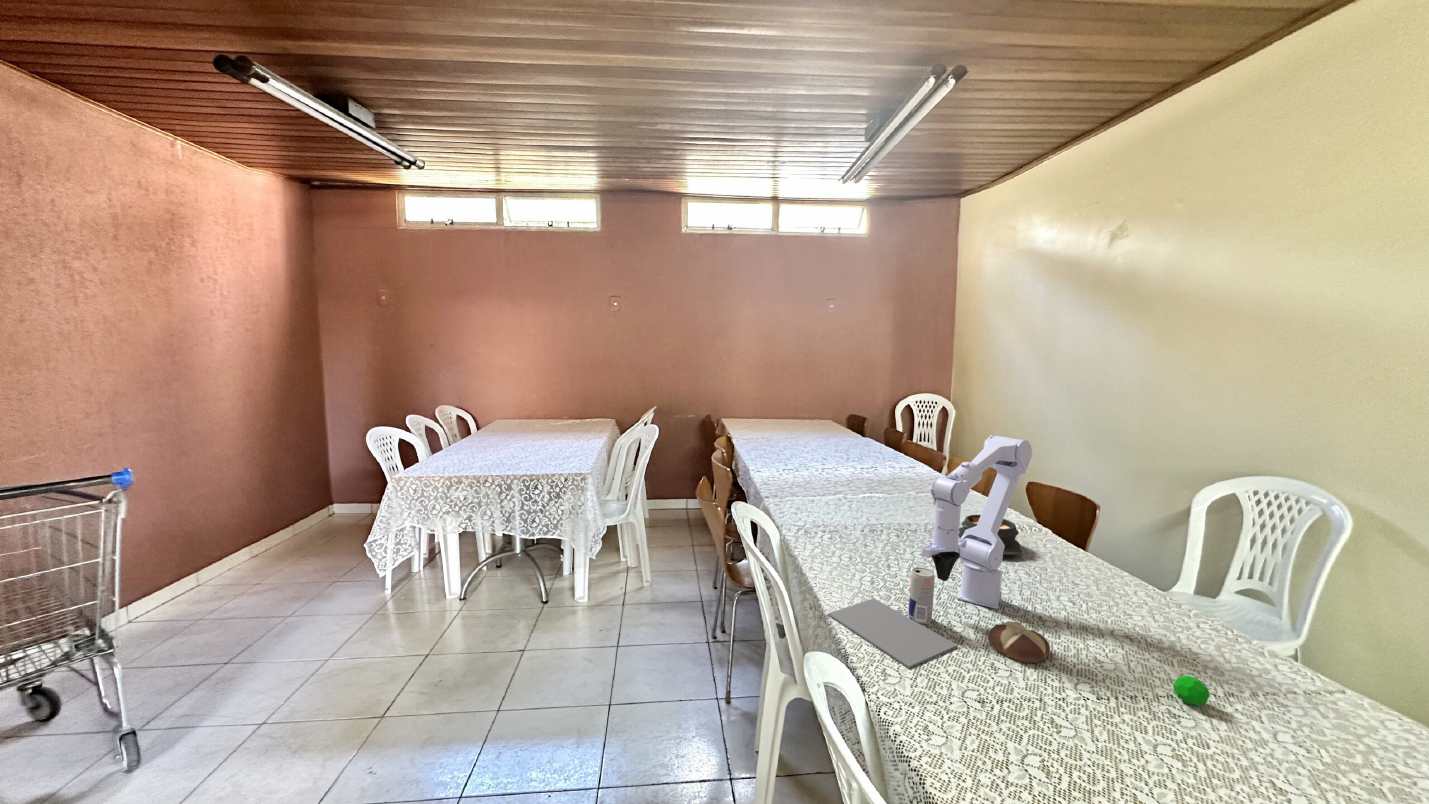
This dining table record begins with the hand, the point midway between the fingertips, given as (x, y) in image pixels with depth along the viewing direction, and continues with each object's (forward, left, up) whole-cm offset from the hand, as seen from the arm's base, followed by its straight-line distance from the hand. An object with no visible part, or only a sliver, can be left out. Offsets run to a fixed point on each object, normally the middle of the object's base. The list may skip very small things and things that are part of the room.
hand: (942, 579), depth 129 cm
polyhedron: (-46, +9, -9) cm, 47 cm away
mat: (+8, +17, -8) cm, 20 cm away
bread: (-18, +8, -9) cm, 21 cm away
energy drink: (+4, +7, -9) cm, 12 cm away
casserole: (-6, -57, -9) cm, 58 cm away
